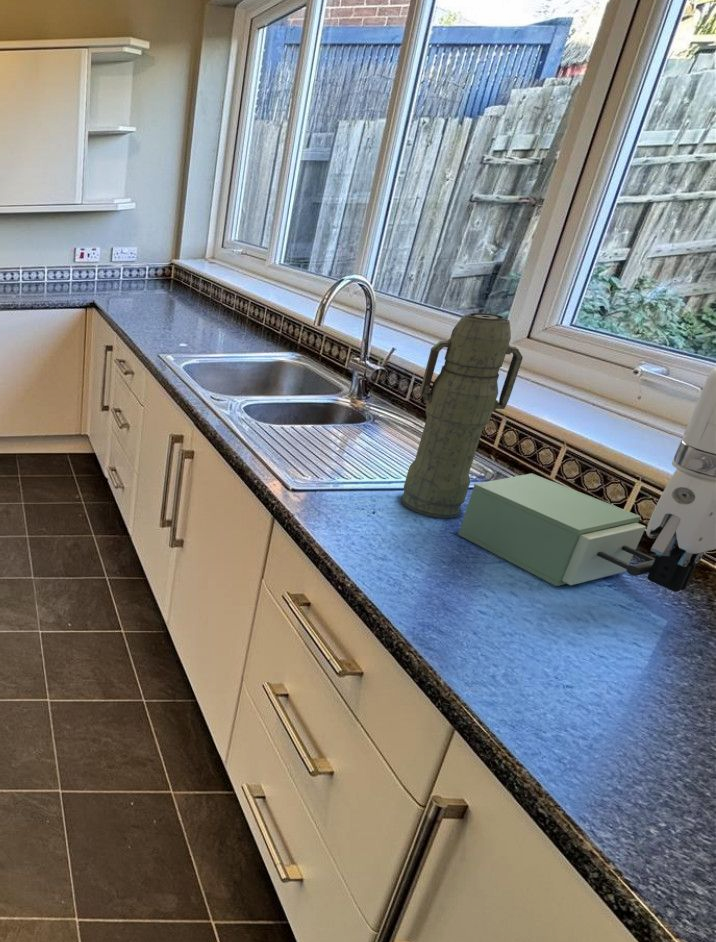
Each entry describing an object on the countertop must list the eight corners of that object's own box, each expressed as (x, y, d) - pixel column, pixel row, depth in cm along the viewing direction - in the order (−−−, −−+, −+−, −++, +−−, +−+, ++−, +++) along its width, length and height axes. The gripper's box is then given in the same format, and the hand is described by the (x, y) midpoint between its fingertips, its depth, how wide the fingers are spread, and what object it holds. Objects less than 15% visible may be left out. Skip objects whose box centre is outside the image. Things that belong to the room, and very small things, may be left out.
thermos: (385, 489, 118) (434, 308, 105) (460, 500, 114) (520, 312, 101) (396, 511, 110) (449, 319, 97) (476, 524, 106) (543, 324, 93)
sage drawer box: (616, 571, 93) (641, 516, 90) (556, 586, 90) (579, 530, 86) (513, 522, 106) (531, 473, 103) (457, 534, 103) (474, 483, 100)
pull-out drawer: (668, 591, 87) (691, 544, 84) (611, 606, 84) (633, 558, 81) (527, 525, 104) (542, 484, 101) (476, 536, 101) (490, 494, 98)
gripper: (724, 484, 71) (665, 614, 78) (802, 464, 75) (739, 589, 82) (641, 458, 78) (593, 580, 84) (717, 442, 82) (665, 559, 88)
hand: (665, 584), depth 83 cm, fingers closed
